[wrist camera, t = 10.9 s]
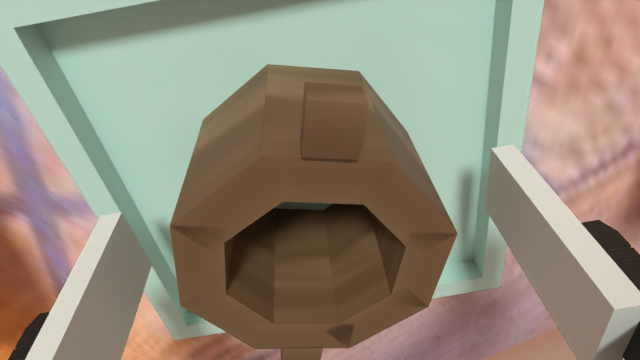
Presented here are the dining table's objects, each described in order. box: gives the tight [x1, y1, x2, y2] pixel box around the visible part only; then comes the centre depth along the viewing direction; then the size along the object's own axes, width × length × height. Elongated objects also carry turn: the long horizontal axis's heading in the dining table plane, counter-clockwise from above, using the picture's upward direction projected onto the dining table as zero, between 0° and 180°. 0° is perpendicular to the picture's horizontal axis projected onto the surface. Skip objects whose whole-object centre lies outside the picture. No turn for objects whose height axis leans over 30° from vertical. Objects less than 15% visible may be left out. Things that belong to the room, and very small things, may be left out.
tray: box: [0, 0, 544, 340], centre depth 17 cm, size 17×17×2 cm
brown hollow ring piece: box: [170, 64, 458, 360], centre depth 15 cm, size 11×8×6 cm
